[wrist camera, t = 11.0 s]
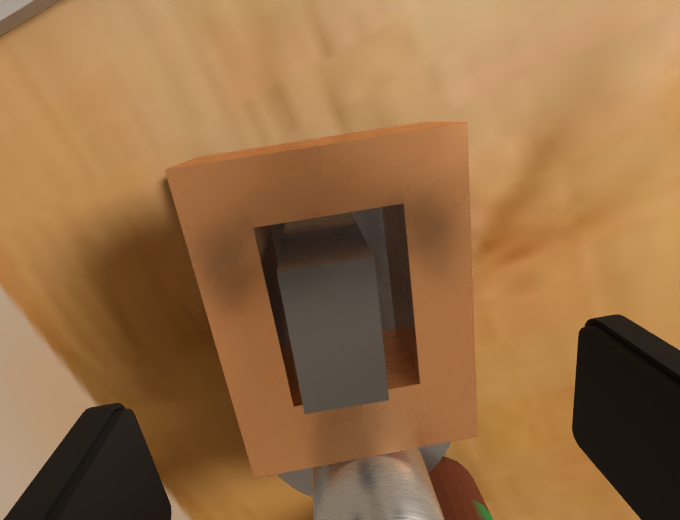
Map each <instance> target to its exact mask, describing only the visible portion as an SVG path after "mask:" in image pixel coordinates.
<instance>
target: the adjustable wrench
mask: <svg viewBox="0 0 680 520" xmlns="http://www.w3.org/2000/svg"><path fill="white" fill-rule="evenodd" d="M58 1H60V0H0V36H1V35H3V34H5V33H6V32H8V31H10V30H11V29H13V28H15V27H16V26H18V25H20V24H21V23H23V22H25V21H26V20H28V19H30V18H32V17H33V16H35V15H37V14H38V13H40V12H42V11H43V10H45V9H47V8H48V7H50V6H52V5H53V4H55V3H57V2H58Z"/></svg>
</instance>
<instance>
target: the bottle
mask: <svg viewBox="0 0 680 520" xmlns="http://www.w3.org/2000/svg"><path fill="white" fill-rule="evenodd" d="M428 475H429V477H430V480H431V483H432V486H433V488H434V491H435V494H436V497H437V500H438V502H439V505H440V508H441V511H442V514H443V516H444V519H445V520H493V519H492V517H491V514H490V512H489V510H488V508H487V506H486V504H485V502H484V500H483V498H482V496H481V494H480V491H479V489H478V487H477V485H476V483H475V481H474V479H473V478H472V476H471V475H470V473H469V472H468V471H467V469H466V468H464V467H463V466H462V465H461V464H459V463H458V462H456V461H454V460H452V459H449V458H447V457H442V458H441V460H440V461H439V462H438V463H437V465H436V466H435V467H434V468H433V469H432V470H431V471H430V472H429V473H428Z"/></svg>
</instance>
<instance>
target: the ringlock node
mask: <svg viewBox="0 0 680 520" xmlns="http://www.w3.org/2000/svg"><path fill="white" fill-rule="evenodd" d="M165 173H166V176H167V180H168V183H169V187H170V190H171V193H172V197H173V200H174V204H175V207H176V211H177V214H178V218H179V221H180V224H181V228H182V231H183V235H184V238H185V242H186V245H187V249H188V252H189V255H190V259H191V262H192V266H193V269H194V273H195V276H196V280H197V283H198V286H199V290H200V293H201V297H202V300H203V304H204V307H205V311H206V314H207V317H208V321H209V324H210V328H211V331H212V335H213V338H214V342H215V345H216V348H217V352H218V355H219V359H220V362H221V366H222V369H223V373H224V376H225V379H226V383H227V386H228V390H229V393H230V397H231V400H232V404H233V407H234V410H235V414H236V417H237V421H238V424H239V428H240V431H241V435H242V438H243V441H244V445H245V448H246V452H247V455H248V459H249V462H250V466H251V469H252V472H253V476H254V478H258V477H264V476H269V475H274V474H278V475H279V476H280V477H281V478H282V479H283V480H284V481H285V482H286V483H287V484H289V485H290V486H292V487H293V488H295V489H296V490H298V491H300V492H302V493H304V494H306V495H309V496H311V497H313V511H314V520H445V519H444V516H443V514H442V511H441V508H440V505H439V502H438V500H437V497H436V494H435V491H434V488H433V486H432V483H431V480H430V477H429V475H428V473H429V472H430V471H431V470H432V469H433V468H434V467H435V466H436V465H437V463H438V462H439V461H440V460H441V458H442V457H443V455H444V454H445V452H446V451H447V449H448V447H449V445H450V443H451V441H456V440H462V439H467V438H472V437H478V435H477V404H476V374H475V344H474V314H473V284H472V253H471V223H470V193H469V163H468V133H467V122H420V123H414V124H407V125H401V126H394V127H388V128H381V129H375V130H369V131H362V132H356V133H349V134H343V135H337V136H330V137H324V138H317V139H311V140H304V141H298V142H292V143H285V144H279V145H272V146H266V147H260V148H253V149H247V150H240V151H234V152H227V153H221V154H215V155H208V156H202V157H198V158H195V159H192V160H190V161H187V162H184V163H182V164H179V165H176V166H174V167H171V168H168V169H166V170H165ZM347 212H351V213H352V215H353V216H354V218H355V220H356V222H357V224H358V226H359V228H360V230H361V232H362V234H363V236H364V238H365V240H366V242H367V244H368V246H369V248H370V250H371V252H372V254H373V256H374V260H375V269H376V279H377V288H378V298H379V308H380V317H381V327H382V336H383V346H384V355H385V365H386V374H387V384H388V393H389V400H388V401H382V402H376V403H370V404H364V405H358V406H352V407H346V408H340V409H334V410H328V411H321V412H315V413H309V414H304V408H303V403H302V398H301V393H300V388H299V383H298V378H297V373H296V368H295V363H294V358H293V352H292V347H291V342H290V337H289V332H288V327H287V322H286V317H285V312H284V307H283V301H282V296H281V291H280V286H279V281H278V276H277V267H278V261H279V255H280V249H281V244H282V238H283V232H284V227H285V223H286V222H292V221H298V220H305V219H311V218H317V217H323V216H329V215H335V214H341V213H347Z"/></svg>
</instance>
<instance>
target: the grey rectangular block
mask: <svg viewBox="0 0 680 520" xmlns="http://www.w3.org/2000/svg"><path fill="white" fill-rule="evenodd" d="M277 276H278V281H279V286H280V291H281V296H282V301H283V307H284V312H285V317H286V322H287V327H288V332H289V337H290V342H291V347H292V352H293V358H294V363H295V368H296V373H297V378H298V383H299V388H300V393H301V398H302V403H303V408H304V414H309V413H315V412H321V411H328V410H334V409H340V408H346V407H352V406H358V405H364V404H370V403H376V402H382V401H388V400H389V393H388V384H387V374H386V365H385V355H384V346H383V336H382V327H381V317H380V308H379V298H378V288H377V279H376V269H375V260H374V256H373V254H372V252H371V250H370V248H369V246H368V244H367V242H366V240H365V238H364V236H363V234H362V232H361V230H360V228H359V226H358V224H357V222H356V220H355V218H354V216H353V215H352V213H351V212H347V213H341V214H335V215H329V216H323V217H317V218H311V219H305V220H298V221H292V222H286V223H285V227H284V232H283V238H282V244H281V249H280V255H279V261H278V267H277Z"/></svg>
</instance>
